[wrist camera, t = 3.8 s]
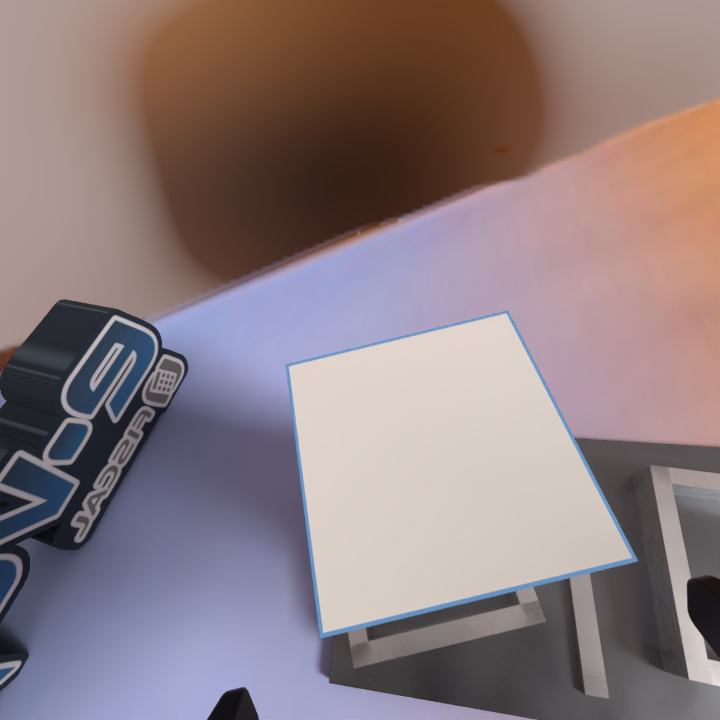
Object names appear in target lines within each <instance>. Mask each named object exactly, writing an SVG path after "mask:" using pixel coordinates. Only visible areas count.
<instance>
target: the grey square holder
mask: <svg viewBox="0 0 720 720" xmlns="http://www.w3.org/2000/svg"><path fill="white" fill-rule="evenodd" d="M633 480H634V486H635V493H636V499H637V505H638V512H639V518H640V524H641V530H642V537H643V543H644V549H645V556H646V562H647V568H648V574H649V581H650V587H651V593H652V600H653V606H654V612H655V618H656V625H657V631H658V637H659V643H660V650H661V656H662V662H663V669H664V672H667V673H670V674H673V675H676V676H680V677H683V678H686V679H689V680H693V681H698V682H703V683H707V684H712V685H716V686H720V661H717V660H712V659H708V658H707V654H706V649H705V644H704V639H703V636H702V635H701V634H700V632H699V631H698V630H697V628H696V627H695V626H694V624H693V623H692V621H691V619H690V617H689V614H688V610H687V581H688V580H689V579H691V575H690V571H689V566H688V561H687V556H686V551H685V546H684V541H683V536H682V532H681V527H680V522H679V517H678V512H677V507H676V502H675V497H674V495H677V496H684V497H691V498H699V499H706V500H713V501H720V474H718V473H710V472H702V471H694V470H686V469H678V468H670V467H663V466H655V465H649V466H647V467H645V468H643V469H642V470H640V471H638V472H636V473H634V474H633Z"/></svg>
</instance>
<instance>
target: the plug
mask: <svg viewBox="0 0 720 720" xmlns="http://www.w3.org/2000/svg"><path fill="white" fill-rule="evenodd" d="M286 370H287V378H288V386H289V394H290V402H291V410H292V418H293V426H294V434H295V442H296V450H297V458H298V466H299V475H300V483H301V491H302V499H303V507H304V515H305V523H306V531H307V539H308V547H309V555H310V563H311V571H312V579H313V587H314V595H315V603H316V612H317V620H318V628H319V636H320V639H321V638H325V637H329V636H333V635H337V634H341V633H345V632H349V631H353V630H358V629H362V628H366V627H370V626H374V625H378V624H382V623H386V622H390V621H395V620H399V619H403V618H407V617H411V616H415V615H419V614H423V613H428V612H432V611H436V610H440V609H444V608H448V607H452V606H456V605H460V604H465V603H469V602H473V601H477V600H481V599H485V598H489V597H493V596H497V595H502V594H506V593H510V592H514V591H518V590H522V589H526V588H530V587H535V586H539V585H543V584H547V583H551V582H555V581H559V580H563V579H567V578H572V577H576V576H580V575H584V574H588V573H592V572H596V571H600V570H604V569H609V568H613V567H617V566H621V565H625V564H629V563H633V562H637V561H638V560H637V558H636V556H635V554H634V552H633V550H632V548H631V546H630V544H629V542H628V540H627V538H626V537H625V535H624V533H623V531H622V529H621V527H620V525H619V523H618V521H617V519H616V517H615V515H614V513H613V512H612V510H611V508H610V506H609V504H608V502H607V500H606V498H605V496H604V494H603V492H602V490H601V488H600V487H599V485H598V483H597V481H596V479H595V477H594V475H593V473H592V471H591V469H590V467H589V465H588V463H587V462H586V460H585V458H584V456H583V454H582V452H581V450H580V448H579V446H578V444H577V442H576V440H575V438H574V437H573V435H572V433H571V431H570V429H569V427H568V425H567V423H566V421H565V419H564V417H563V415H562V413H561V411H560V410H559V408H558V406H557V404H556V402H555V400H554V398H553V396H552V394H551V392H550V390H549V388H548V386H547V385H546V383H545V381H544V379H543V377H542V375H541V373H540V371H539V369H538V367H537V365H536V363H535V361H534V360H533V358H532V356H531V354H530V352H529V350H528V348H527V346H526V344H525V342H524V340H523V338H522V336H521V335H520V333H519V331H518V329H517V327H516V325H515V323H514V321H513V319H512V317H511V315H510V313H509V311H504V312H500V313H496V314H492V315H488V316H484V317H479V318H475V319H471V320H467V321H463V322H459V323H455V324H451V325H447V326H443V327H438V328H434V329H430V330H426V331H422V332H418V333H414V334H410V335H406V336H401V337H397V338H393V339H389V340H385V341H381V342H377V343H373V344H369V345H365V346H360V347H356V348H352V349H348V350H344V351H340V352H336V353H332V354H328V355H324V356H319V357H315V358H311V359H307V360H303V361H299V362H295V363H291V364H287V365H286Z"/></svg>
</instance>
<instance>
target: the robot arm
mask: <svg viewBox="0 0 720 720" xmlns="http://www.w3.org/2000/svg"><path fill="white" fill-rule="evenodd" d="M687 610H688V614H689V617H690V619H691V621H692V623H693V624H694V626H695V627H696V628H697V630H698V631H699V632H700V634H701V635H702V636H703V638H704V639H705V640H706V642H707V643H708V644H709V646H710V647H711V648H712V650H713V651H714V652H715V653H716V655H717V656H718V657H719V659H720V579H719V578H717V577H714V576H711V575H703V576H699V577H694V578H691V579H689V580H688V581H687ZM207 720H259V718H258V714H257V712H256V709H255V707H254V704H253V702H252V699H251V697H250V694H249V692H248V690H247V689H246V688H244V687H241V688H237V689H233V690H229V691H227V692H225V693H224V694H223V695H222V697H221V698H220V700H219V701H218V703H217V705H216V706H215V708H214V709H213V711H212V712H211V714H210V716H209V717H208V719H207Z"/></svg>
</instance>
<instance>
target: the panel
mask: <svg viewBox="0 0 720 720" xmlns="http://www.w3.org/2000/svg"><path fill="white" fill-rule="evenodd" d="M575 440H576V442H577V444H578V446H579V448H580V450H581V452H582V454H583V456H584V458H585V460H586V462H587V463H588V465H589V467H590V469H591V471H592V473H593V475H594V477H595V479H596V481H597V483H598V485H599V487H600V488H601V490H602V492H603V494H604V496H605V498H606V500H607V502H608V504H609V506H610V508H611V510H612V512H613V513H614V515H615V517H616V519H617V521H618V523H619V525H620V527H621V529H622V531H623V533H624V535H625V537H626V538H627V540H628V542H629V544H630V546H631V548H632V550H633V552H634V554H635V556H636V558H637V560H638V561H637V562H633V563H629V564H625V565H621V566H617V567H613V568H609V569H604V570H600V571H596V572H592V573H588V574H584V575H580V576H576V577H572V578H567V579H563V580H559V581H555V582H551V583H547V584H543V585H539V586H535V587H533V588H534V590H535V593H536V595H537V598H538V601H539V603H540V606H541V608H542V611H543V614H544V616H545V619H546V622H543V623H539V624H535V625H531V626H526V627H522V628H518V629H514V630H510V631H506V632H502V633H498V634H493V635H489V636H485V637H481V638H477V639H473V640H469V641H465V642H461V643H456V644H452V645H448V646H444V647H440V648H436V649H432V650H428V651H424V652H419V653H415V654H411V655H407V656H403V657H399V658H395V659H391V660H386V661H382V662H378V663H374V664H370V665H366V666H362V667H358V668H354V667H353V661H352V655H351V648H350V642H349V635H348V632H345V633H341V634H337V635H335V637H334V646H333V654H332V662H331V671H330V679H329V683H332V684H338V685H343V686H349V687H355V688H360V689H366V690H372V691H378V692H383V693H389V694H395V695H400V696H406V697H412V698H417V699H423V700H429V701H435V702H440V703H446V704H452V705H457V706H463V707H469V708H474V709H480V710H486V711H491V712H497V713H503V714H509V715H514V716H520V717H526V718H531V719H537V720H720V686H716V685H712V684H707V683H703V682H698V681H693V680H689V679H686V678H683V677H680V676H676V675H673V674H670V673H667V672H664V669H663V662H662V656H661V650H660V643H659V637H658V631H657V625H656V618H655V612H654V606H653V600H652V593H651V587H650V581H649V574H648V568H647V562H646V556H645V549H644V543H643V537H642V530H641V524H640V518H639V512H638V505H637V499H636V493H635V486H634V480H633V474H634V473H636V472H638V471H640V470H642V469H643V468H645V467H647V466H649V465H655V466H663V467H670V468H678V469H686V470H694V471H702V472H710V473H718V474H720V448H716V447H700V446H685V445H669V444H653V443H638V442H622V441H606V440H591V439H575ZM674 497H675V502H676V507H677V512H678V517H679V522H680V527H681V532H682V536H683V541H684V546H685V551H686V556H687V561H688V566H689V571H690V575H691V578H694V577H699V576H703V575H711V576H714V577H717V578H719V579H720V501H713V500H706V499H699V498H691V497H684V496H677V495H674ZM511 603H512V602H511V600H510V597H509V594H508V593H506V594H502V595H497V596H493V597H489V598H485V599H481V600H477V601H473V602H469V603H465V604H460V605H456V606H452V607H448V608H444V609H440V610H436V611H432V612H428V613H423V614H419V615H415V616H411V617H407V618H403V619H399V620H395V621H390V622H386V623H382V624H378V625H374V626H370V629H371V635H372V637H376V636H380V635H384V634H388V633H392V632H396V631H400V630H404V629H408V628H413V627H417V626H421V625H425V624H429V623H433V622H437V621H441V620H445V619H450V618H454V617H458V616H462V615H466V614H470V613H474V612H478V611H483V610H487V609H491V608H495V607H499V606H503V605H507V604H511ZM703 639H704V638H703ZM704 644H705V649H706V654H707V658H708V659H712V660H717V661H720V659H719V657H718V656H717V655H716V653H715V652H714V651H713V650H712V648H711V647H710V646H709V644H708V643H707V642H706V640H705V639H704Z"/></svg>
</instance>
